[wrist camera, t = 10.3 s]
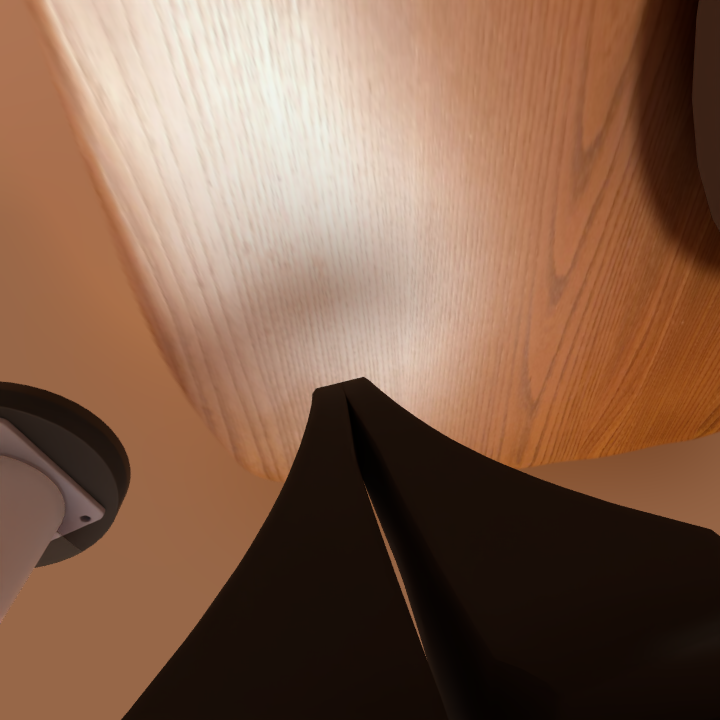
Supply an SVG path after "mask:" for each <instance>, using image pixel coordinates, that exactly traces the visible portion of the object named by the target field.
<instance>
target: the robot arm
mask: <svg viewBox="0 0 720 720" xmlns="http://www.w3.org/2000/svg"><path fill="white" fill-rule="evenodd" d="M363 481H364V482H363ZM364 484H365V485H364ZM365 486H366V488H365ZM366 489H367V491H368V494H369V496H370V499H371V501H372V504H373V506H374V509H375V511H376V514H377V516H378V518H379V521H380V523H381V526H382V528H383V531H384V533H385V536H386V538H387V540H388V543H389V546H390V548H391V550H392V553H393V555H394V558H395V560H396V563H397V565H398V568H399V571H400V574H401V577H402V579H403V582H404V585H405V589H406V592H407V595H408V598H409V601H410V605H411V608H412V611H413V614H414V618H415V621H416V624H417V628H418V631H419V634H420V637H421V641H422V644H423V647H424V651H425V653H424V651H423V648H422V645H421V642H420V640H419V637H418V634H417V632H416V629H415V627H414V624H413V621H412V618H411V615H410V613H409V610H408V607H407V604H406V602H405V599H404V596H403V594H402V591H401V588H400V585H399V583H398V580H397V577H396V574H395V572H394V569H393V566H392V563H391V560H390V557H389V555H388V552H387V549H386V546H385V543H384V540H383V538H382V535H381V532H380V529H379V526H378V524H377V520H376V518H375V515H374V512H373V509H372V506H371V503H370V500H369V497H368V494H367V491H366ZM104 513H105V508H104V507H103V506H102V505H101V504H100V503H98V502H97V501H96V500H95V499H94V498H93V497H92V496H91V495H90V494H89V493H87V492H86V491H85V490H84V489H83V488H82V487H81V486H80V485H79V484H78V483H76V482H75V481H74V480H73V479H72V478H71V477H70V476H69V475H68V474H67V473H65V472H64V471H63V470H62V469H61V468H60V467H59V466H58V465H57V464H56V463H54V462H53V461H52V460H51V459H50V458H49V457H48V456H47V455H46V454H45V453H43V452H42V451H41V450H40V449H39V448H38V447H37V446H36V445H35V444H34V443H32V442H31V441H30V440H29V439H28V438H27V437H26V436H25V435H24V434H23V433H21V432H20V431H19V430H18V429H17V428H16V427H15V426H14V425H13V424H12V423H10V422H9V421H8V420H6V419H4V418H0V624H1V622H2V620H3V619H4V617H5V615H6V614H7V612H8V610H9V609H10V607H11V605H12V604H13V602H14V600H15V599H16V597H17V595H18V594H19V592H20V590H21V589H22V587H23V586H24V584H25V582H26V580H27V579H28V577H29V576H30V574H31V572H32V571H33V569H34V567H35V566H36V564H37V563H38V561H39V559H40V558H41V556H42V554H43V553H44V551H45V549H46V548H47V546H48V544H49V543H50V541H52V540H54V539H56V538H59V537H61V536H63V535H65V534H68V533H70V532H72V531H75V530H77V529H79V528H81V527H84V526H86V525H88V524H91V523H93V522H95V521H97V520H100V519H101V518H102V517H103V515H104ZM85 515H86V516H85ZM88 516H89V517H88ZM425 654H426V656H425ZM426 657H427V658H426ZM427 660H428V661H427ZM121 720H720V536H719V535H718V534H716V533H715V532H714V531H712V530H711V529H707V528H703V527H700V526H696V525H692V524H688V523H685V522H681V521H677V520H673V519H669V518H666V517H662V516H658V515H654V514H651V513H647V512H643V511H639V510H635V509H632V508H628V507H624V506H620V505H617V504H613V503H610V502H607V501H604V500H601V499H598V498H595V497H591V496H588V495H585V494H582V493H579V492H576V491H573V490H570V489H567V488H564V487H561V486H558V485H555V484H553V483H550V482H547V481H544V480H541V479H539V478H536V477H533V476H531V475H528V474H526V473H523V472H521V471H519V470H516V469H514V468H511V467H509V466H506V465H504V464H501V463H499V462H497V461H495V460H492V459H490V458H488V457H486V456H484V455H482V454H480V453H478V452H476V451H474V450H472V449H470V448H468V447H466V446H464V445H462V444H460V443H458V442H456V441H454V440H452V439H450V438H449V437H447V436H445V435H443V434H442V433H440V432H439V431H437V430H435V429H434V428H432V427H431V426H429V425H427V424H426V423H424V422H423V421H421V420H420V419H418V418H417V417H415V416H414V415H413V414H411V413H410V412H408V411H407V410H406V409H404V408H403V407H401V406H400V405H399V404H397V403H396V402H395V401H393V400H392V399H391V398H390V397H388V396H387V395H386V394H385V393H383V392H382V391H381V390H380V389H379V388H377V387H376V386H375V385H374V384H373V383H372V382H371V381H369V380H368V379H367V378H365V377H361V378H357V379H353V380H349V381H345V382H341V383H337V384H333V385H329V386H325V387H321V388H317V389H315V391H314V392H313V394H312V405H311V410H310V414H309V418H308V422H307V425H306V429H305V432H304V435H303V438H302V442H301V444H300V447H299V450H298V452H297V455H296V457H295V460H294V462H293V465H292V467H291V470H290V472H289V475H288V477H287V479H286V481H285V484H284V486H283V488H282V490H281V492H280V494H279V496H278V498H277V500H276V502H275V504H274V506H273V508H272V510H271V512H270V513H269V515H268V517H267V519H266V520H265V522H264V524H263V526H262V527H261V529H260V531H259V533H258V534H257V536H256V538H255V539H254V541H253V543H252V544H251V546H250V548H249V549H248V551H247V552H246V554H245V556H244V557H243V559H242V560H241V562H240V563H239V565H238V567H237V568H236V570H235V571H234V573H233V574H232V575H231V577H230V578H229V580H228V581H227V582H226V584H225V585H224V587H223V588H222V590H221V591H220V592H219V594H218V595H217V597H216V598H215V600H214V601H213V603H212V604H211V605H210V607H209V608H208V610H207V611H206V612H205V614H204V615H203V617H202V618H201V619H200V621H199V622H198V624H197V625H196V626H195V628H194V629H193V630H192V632H191V633H190V634H189V636H188V637H187V638H186V640H185V641H184V642H183V644H182V645H181V646H180V647H179V648H178V650H177V651H176V652H175V653H174V655H173V656H172V657H171V658H170V660H169V661H168V662H167V664H166V665H165V666H164V667H163V669H162V670H161V671H160V672H159V674H158V675H157V676H156V677H155V678H154V680H153V681H152V682H151V683H150V685H149V686H148V687H147V688H146V690H145V691H144V692H143V693H142V695H141V696H140V697H139V698H138V700H137V701H136V702H135V704H134V705H133V706H132V708H131V709H130V710H129V711H128V712H127V713H126V715H125V716H124V717H123V718H122V719H121Z"/></svg>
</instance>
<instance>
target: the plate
mask: <svg viewBox="0 0 720 720" xmlns="http://www.w3.org/2000/svg"><path fill="white" fill-rule="evenodd" d="M692 106H693V117H694V129H695V141H696V153H697V164H698V169H699V173H700V176H701V180H702V184H703V187H704V191H705V194H706V198H707V202H708V205H709V209H710V213H711V216H712V219H713V221H714V222H715V224H716V226H717V228H718V229H719V231H720V0H699V4H698V10H697V19H696V36H695V53H694V70H693V87H692Z"/></svg>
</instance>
